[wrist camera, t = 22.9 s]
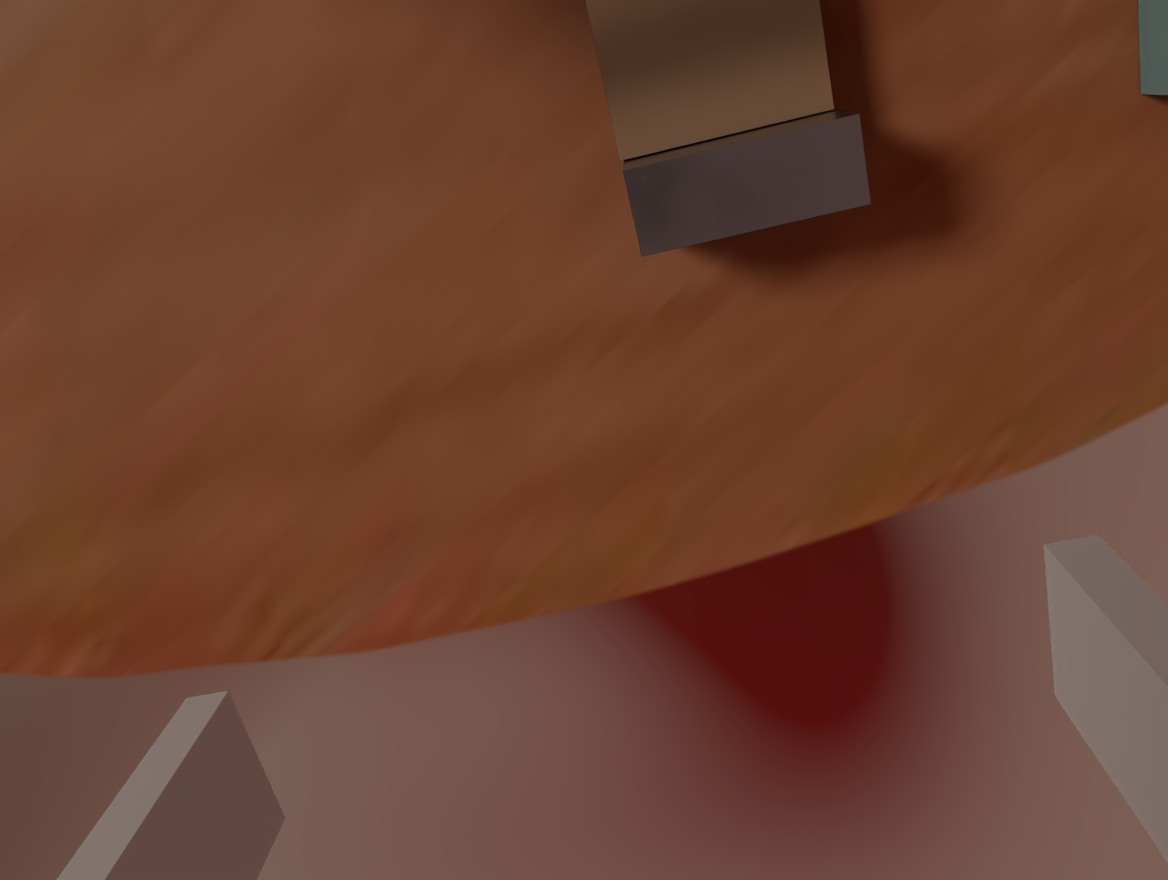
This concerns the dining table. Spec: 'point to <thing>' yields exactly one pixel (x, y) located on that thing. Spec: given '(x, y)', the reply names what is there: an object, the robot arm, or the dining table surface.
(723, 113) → the tan square block
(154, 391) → the dining table surface
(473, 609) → the dining table surface
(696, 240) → the block
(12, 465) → the dining table surface
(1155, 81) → the tray
